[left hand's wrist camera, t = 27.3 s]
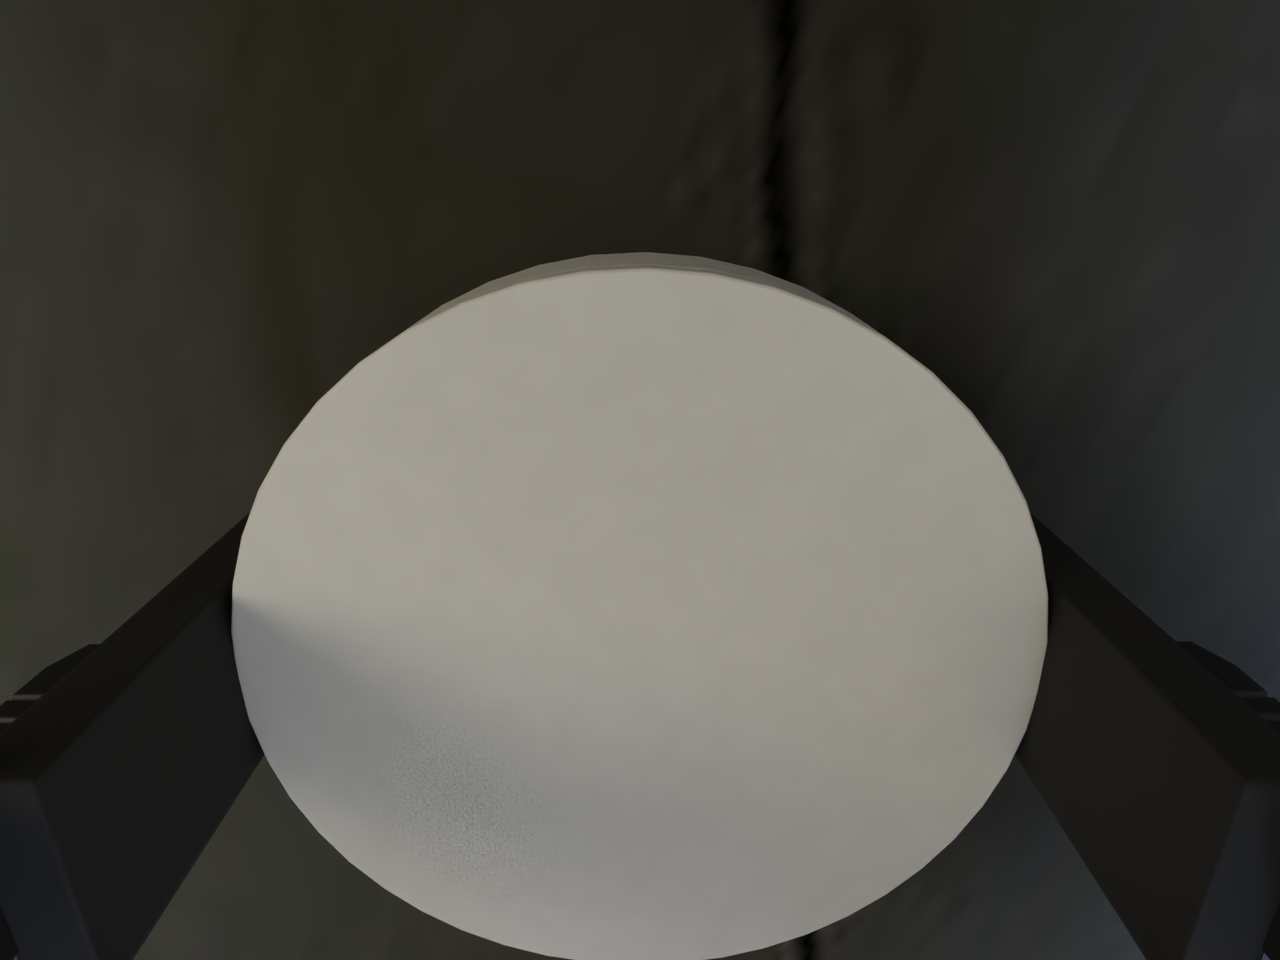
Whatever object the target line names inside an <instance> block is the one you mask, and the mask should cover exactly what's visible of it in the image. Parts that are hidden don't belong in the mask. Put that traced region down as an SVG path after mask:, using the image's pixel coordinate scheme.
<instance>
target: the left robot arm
mask: <svg viewBox="0 0 1280 960" xmlns="http://www.w3.org/2000/svg"><path fill="white" fill-rule="evenodd" d="M249 515H250V513H249V514H248V515H247V516H245V517H244V518H243V519H242V520H241V521H240V522H239V523H237V524H236V525H235V526H234V527H233V528H232V529H231V530H230V531H228V532H227V533H226V534H225V535H224V536H223V537H222V538H220V539H219V540H218V541H217V542H216V543H215V544H214V545H213V546H211V547H210V548H209V549H208V550H207V551H206V552H205V553H203V554H202V555H201V556H200V557H199V558H198V559H197V560H196V561H194V562H193V563H192V564H191V565H190V566H189V567H188V568H186V569H185V570H184V571H183V572H182V573H181V574H180V575H178V576H177V577H176V578H175V579H174V580H173V581H172V582H171V583H169V584H168V585H167V586H166V587H165V588H164V589H163V590H161V591H160V592H159V593H158V594H157V595H156V596H155V597H154V598H152V599H151V600H150V601H149V602H148V603H147V604H146V605H144V606H143V607H142V608H141V609H140V610H139V611H138V612H137V613H135V614H134V615H133V616H132V617H131V618H130V619H129V620H127V621H126V622H125V623H124V624H123V625H122V626H121V627H120V628H118V629H117V630H116V631H115V632H114V633H113V634H112V635H110V636H109V637H108V638H107V639H106V640H105V641H104V642H102V643H101V644H89V645H87V646H85V647H84V648H82V649H80V650H78V651H76V652H74V653H72V654H70V655H69V656H67V657H65V658H63V659H61V660H59V661H57V662H56V663H54V664H52V665H50V666H48V667H46V668H45V669H44V670H42V671H41V672H40V673H39V674H38V675H36V676H35V677H34V678H33V679H32V680H31V681H29V682H28V683H27V684H26V685H25V686H23V687H22V688H21V689H20V690H19V691H17V692H16V693H15V694H14V695H13V700H12V701H6V702H4V703H3V704H2V705H1V706H0V960H13V959H14V958H15V956H17V958H18V960H133V959H134V957H135V956H136V954H137V952H138V951H139V949H140V948H141V946H142V945H143V943H144V941H145V940H146V938H147V937H148V935H149V934H150V932H151V931H152V929H153V927H154V926H155V924H156V923H157V921H158V920H159V918H160V917H161V915H162V913H163V912H164V910H165V909H166V907H167V906H168V904H169V902H170V901H171V899H172V898H173V896H174V895H175V893H176V892H177V890H178V888H179V887H180V885H181V884H182V882H183V881H184V879H185V878H186V876H187V874H188V873H189V871H190V870H191V868H192V867H193V865H194V863H195V862H196V860H197V859H198V857H199V856H200V854H201V853H202V851H203V849H204V848H205V846H206V845H207V843H208V842H209V840H210V838H211V837H212V835H213V834H214V832H215V831H216V829H217V828H218V826H219V824H220V823H221V821H222V820H223V818H224V817H225V815H226V814H227V812H228V810H229V809H230V807H231V806H232V804H233V803H234V801H235V799H236V798H237V796H238V795H239V793H240V792H241V790H242V789H243V787H244V785H245V784H246V782H247V781H248V779H249V778H250V776H251V775H252V773H253V771H254V770H255V768H256V767H257V765H258V764H259V762H260V760H261V759H262V757H263V756H264V752H263V750H262V747H261V745H260V743H259V741H258V738H257V736H256V734H255V732H254V729H253V727H252V725H251V723H250V720H249V717H248V714H247V710H246V706H245V702H244V698H243V693H242V689H241V685H240V681H239V677H238V672H237V667H236V662H235V657H234V649H233V641H232V633H231V623H232V589H233V580H234V574H235V569H236V564H237V559H238V553H239V548H240V543H241V538H242V534H243V531H244V529H245V526H246V523H247V520H248V518H249ZM1030 515H1031V518H1032V521H1033V524H1034V527H1035V531H1036V534H1037V537H1038V540H1039V543H1040V546H1041V551H1042V558H1043V565H1044V571H1045V578H1046V585H1047V592H1048V643H1047V648H1046V653H1045V658H1044V662H1043V667H1042V672H1041V677H1040V682H1039V686H1038V691H1037V695H1036V699H1035V703H1034V707H1033V711H1032V715H1031V718H1030V721H1029V724H1028V727H1027V730H1026V732H1025V734H1024V736H1023V738H1022V740H1021V742H1020V744H1019V746H1018V748H1017V750H1016V753H1015V755H1016V757H1017V758H1018V760H1019V761H1020V763H1021V764H1022V766H1023V768H1024V769H1025V771H1026V772H1027V774H1028V775H1029V777H1030V778H1031V780H1032V782H1033V783H1034V785H1035V786H1036V788H1037V789H1038V791H1039V792H1040V794H1041V796H1042V797H1043V799H1044V800H1045V802H1046V803H1047V805H1048V807H1049V808H1050V810H1051V811H1052V813H1053V814H1054V816H1055V817H1056V819H1057V821H1058V822H1059V824H1060V825H1061V827H1062V828H1063V830H1064V832H1065V833H1066V835H1067V836H1068V838H1069V839H1070V841H1071V842H1072V844H1073V846H1074V847H1075V849H1076V850H1077V852H1078V853H1079V855H1080V856H1081V858H1082V860H1083V861H1084V863H1085V864H1086V866H1087V867H1088V869H1089V871H1090V872H1091V874H1092V875H1093V877H1094V878H1095V880H1096V881H1097V883H1098V885H1099V886H1100V888H1101V889H1102V891H1103V892H1104V894H1105V895H1106V897H1107V899H1108V900H1109V902H1110V903H1111V905H1112V906H1113V908H1114V910H1115V911H1116V913H1117V914H1118V916H1119V917H1120V919H1121V920H1122V922H1123V924H1124V925H1125V927H1126V928H1127V930H1128V931H1129V933H1130V935H1131V936H1132V938H1133V939H1134V941H1135V942H1136V944H1137V945H1138V947H1139V949H1140V950H1141V952H1142V953H1143V955H1144V956H1145V958H1146V959H1147V960H1261V959H1262V956H1263V954H1264V953H1265V954H1266V955H1267V956H1268V958H1269V959H1270V960H1280V702H1278V701H1277V700H1276V699H1275V698H1268V696H1267V691H1265V690H1264V689H1263V688H1262V687H1261V686H1259V685H1258V684H1257V683H1256V682H1255V681H1253V680H1252V679H1251V678H1250V677H1249V676H1247V675H1246V674H1245V673H1244V672H1243V671H1241V670H1240V669H1239V668H1238V667H1237V666H1235V665H1234V664H1232V663H1230V662H1228V661H1226V660H1224V659H1223V658H1221V657H1219V656H1217V655H1215V654H1213V653H1211V652H1209V651H1208V650H1206V649H1204V648H1202V647H1200V646H1198V645H1196V644H1194V643H1192V642H1176V641H1175V640H1174V639H1172V638H1171V637H1170V636H1169V635H1168V634H1167V633H1166V632H1164V631H1163V630H1162V629H1161V628H1160V627H1159V626H1158V625H1157V624H1155V623H1154V622H1153V621H1152V620H1151V619H1150V618H1149V617H1147V616H1146V615H1145V614H1144V613H1143V612H1142V611H1141V610H1139V609H1138V608H1137V607H1136V606H1135V605H1134V604H1133V603H1132V602H1130V601H1129V600H1128V599H1127V598H1126V597H1125V596H1124V595H1122V594H1121V593H1120V592H1119V591H1118V590H1117V589H1116V588H1115V587H1113V586H1112V585H1111V584H1110V583H1109V582H1108V581H1107V580H1105V579H1104V578H1103V577H1102V576H1101V575H1100V574H1099V573H1098V572H1096V571H1095V570H1094V569H1093V568H1092V567H1091V566H1090V565H1088V564H1087V563H1086V562H1085V561H1084V560H1083V559H1082V558H1081V557H1079V556H1078V555H1077V554H1076V553H1075V552H1074V551H1073V550H1071V549H1070V548H1069V547H1068V546H1067V545H1066V544H1065V543H1064V542H1062V541H1061V540H1060V539H1059V538H1058V537H1057V536H1056V535H1054V534H1053V533H1052V532H1051V531H1050V530H1049V529H1048V528H1047V527H1045V526H1044V525H1043V524H1042V523H1041V522H1040V521H1039V520H1037V519H1036V518H1035V517H1034V516H1033V515H1032V514H1031V513H1030Z"/></svg>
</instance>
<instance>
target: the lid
mask: <svg viewBox="0 0 1280 960" xmlns="http://www.w3.org/2000/svg"><path fill="white" fill-rule="evenodd" d="M231 633H232V641H233V649H234V657H235V662H236V667H237V672H238V677H239V681H240V685H241V689H242V693H243V698H244V702H245V706H246V710H247V714H248V717H249V720H250V723H251V725H252V727H253V729H254V732H255V734H256V736H257V738H258V741H259V743H260V745H261V747H262V750H263V752H264V754H265V756H266V759H267V761H268V762H269V764H270V766H271V767H272V769H273V770H274V772H275V774H276V775H277V777H278V778H279V780H280V782H281V783H282V785H283V786H284V788H285V790H286V791H287V793H288V795H289V796H290V798H291V799H292V800H293V801H294V803H295V804H296V805H297V806H298V808H299V809H300V810H301V811H302V812H303V814H304V815H305V816H306V817H307V819H308V820H309V821H310V822H311V824H312V825H313V826H314V827H315V828H316V830H317V831H318V832H319V833H320V834H321V835H322V836H323V837H324V838H325V839H326V840H327V841H328V842H329V843H330V844H331V845H333V846H334V847H335V848H336V849H337V850H338V851H339V852H340V853H341V854H342V855H343V856H344V857H345V858H346V859H347V860H348V861H349V862H350V863H352V864H353V865H354V866H356V867H357V868H358V869H359V870H361V871H362V872H363V873H365V874H366V875H367V876H369V877H370V878H371V879H373V880H374V881H375V882H376V883H378V884H379V885H380V886H382V887H383V888H384V889H386V890H388V891H389V892H391V893H393V894H394V895H396V896H398V897H399V898H401V899H403V900H404V901H406V902H407V903H409V904H411V905H412V906H414V907H416V908H417V909H419V910H421V911H422V912H425V913H427V914H429V915H431V916H433V917H435V918H437V919H439V920H442V921H444V922H446V923H448V924H450V925H452V926H454V927H456V928H459V929H461V930H463V931H466V932H469V933H472V934H474V935H477V936H480V937H483V938H486V939H488V940H491V941H494V942H497V943H500V944H503V945H506V946H510V947H514V948H518V949H522V950H526V951H530V952H534V953H538V954H542V955H546V956H553V957H560V958H566V959H573V960H707V959H714V958H722V957H727V956H731V955H736V954H740V953H745V952H749V951H753V950H758V949H762V948H766V947H769V946H773V945H776V944H779V943H782V942H785V941H788V940H791V939H794V938H797V937H800V936H803V935H806V934H809V933H811V932H813V931H816V930H818V929H820V928H822V927H825V926H827V925H829V924H831V923H834V922H836V921H838V920H840V919H843V918H845V917H847V916H849V915H851V914H853V913H854V912H856V911H858V910H860V909H861V908H863V907H865V906H867V905H868V904H870V903H872V902H874V901H875V900H877V899H879V898H881V897H882V896H884V895H886V894H887V893H889V892H890V891H892V890H893V889H894V888H896V887H897V886H898V885H900V884H901V883H903V882H904V881H905V880H907V879H908V878H910V877H911V876H912V875H914V874H915V873H916V872H918V871H919V870H921V869H922V868H923V867H924V866H925V865H926V864H927V863H929V862H930V861H931V860H932V859H933V858H934V857H935V856H936V855H937V854H938V853H940V852H941V851H942V850H943V849H944V848H945V847H946V846H947V845H948V844H949V843H951V842H952V841H953V840H954V839H955V838H956V837H957V835H958V834H959V833H960V832H961V831H962V830H963V828H964V827H965V826H966V825H967V824H968V823H969V822H970V820H971V819H972V818H973V817H974V816H975V815H976V813H977V812H978V811H979V810H980V809H981V808H982V806H983V805H984V804H985V802H986V801H987V799H988V798H989V796H990V795H991V793H992V792H993V790H994V789H995V787H996V786H997V784H998V783H999V781H1000V780H1001V778H1002V777H1003V775H1004V774H1005V772H1006V771H1007V769H1008V767H1009V765H1010V763H1011V761H1012V759H1013V757H1014V755H1015V753H1016V750H1017V748H1018V746H1019V744H1020V742H1021V740H1022V738H1023V736H1024V734H1025V732H1026V730H1027V727H1028V724H1029V721H1030V718H1031V715H1032V711H1033V707H1034V703H1035V699H1036V695H1037V691H1038V686H1039V682H1040V677H1041V672H1042V667H1043V662H1044V658H1045V653H1046V648H1047V643H1048V592H1047V585H1046V578H1045V571H1044V565H1043V558H1042V551H1041V546H1040V543H1039V540H1038V537H1037V534H1036V531H1035V527H1034V524H1033V521H1032V518H1031V515H1030V512H1029V509H1028V505H1027V502H1026V500H1025V498H1024V496H1023V494H1022V492H1021V490H1020V488H1019V486H1018V484H1017V482H1016V480H1015V478H1014V476H1013V474H1012V472H1011V470H1010V468H1009V466H1008V464H1007V462H1006V460H1005V458H1004V456H1003V455H1002V453H1001V452H1000V450H999V449H998V448H997V446H996V445H995V443H994V442H993V441H992V439H991V438H990V436H989V435H988V434H987V432H986V431H985V430H984V428H983V427H982V425H981V424H980V423H979V421H978V420H977V418H976V417H975V416H974V414H973V413H972V412H971V411H970V410H969V409H968V408H967V407H966V406H965V404H964V403H963V402H962V401H961V400H960V399H959V398H958V397H957V396H956V395H955V394H954V393H953V392H952V391H951V390H950V389H949V388H948V387H947V386H946V385H945V384H944V383H943V382H942V381H941V380H940V379H939V378H938V377H937V376H936V375H935V374H934V373H933V372H932V371H930V370H929V369H928V368H926V367H925V366H924V365H922V364H921V363H920V362H918V361H917V360H916V359H914V358H913V357H912V356H910V355H909V354H908V353H906V352H905V351H904V350H902V349H901V348H900V347H898V346H897V345H896V344H894V343H893V342H892V341H890V340H889V339H888V338H886V337H885V336H883V335H882V334H881V333H879V332H878V331H876V330H875V329H873V328H872V327H870V326H869V325H867V324H866V323H864V322H863V321H861V320H860V319H859V318H857V317H856V316H854V315H853V314H851V313H850V312H848V311H846V310H844V309H843V308H841V307H839V306H837V305H835V304H833V303H832V302H830V301H828V300H826V299H824V298H822V297H821V296H819V295H817V294H815V293H813V292H811V291H810V290H808V289H806V288H804V287H802V286H799V285H796V284H794V283H791V282H788V281H786V280H783V279H780V278H778V277H775V276H772V275H770V274H767V273H764V272H762V271H759V270H756V269H753V268H749V267H744V266H740V265H736V264H731V263H727V262H722V261H718V260H713V259H709V258H704V257H698V256H686V255H674V254H663V253H651V252H640V253H620V254H601V255H589V256H584V257H579V258H573V259H568V260H563V261H557V262H552V263H547V264H542V265H537V266H535V267H532V268H529V269H526V270H523V271H520V272H517V273H514V274H511V275H508V276H505V277H502V278H499V279H496V280H493V281H490V282H487V283H485V284H483V285H481V286H479V287H477V288H475V289H473V290H471V291H469V292H467V293H465V294H463V295H461V296H459V297H457V298H455V299H453V300H451V301H449V302H447V303H445V304H443V305H441V306H440V307H439V308H437V309H436V310H434V311H433V312H431V313H430V314H428V315H427V316H426V317H424V318H423V319H421V320H420V321H418V322H417V323H415V324H414V325H412V326H411V327H410V328H408V329H407V330H405V331H404V332H402V333H401V334H399V335H398V336H397V337H395V338H394V339H392V340H391V341H389V342H388V343H386V344H385V345H384V346H382V347H381V348H379V349H378V350H376V351H375V352H373V353H372V354H371V355H369V356H368V357H366V358H365V359H363V360H362V361H360V362H359V363H358V364H357V365H356V366H355V367H354V368H352V369H351V370H350V371H349V372H348V373H347V374H346V375H345V376H344V377H343V378H342V379H341V380H340V381H339V382H338V383H337V384H335V385H334V386H333V387H332V388H331V389H330V390H329V391H328V392H327V393H326V394H325V395H324V396H323V397H322V398H321V399H319V400H318V401H317V403H316V404H315V405H314V406H313V408H312V409H311V410H310V412H309V413H308V414H307V415H306V417H305V418H304V419H303V420H302V422H301V423H300V424H299V426H298V427H297V428H296V429H295V431H294V432H293V433H292V435H291V436H290V437H289V438H288V440H287V441H286V442H285V443H284V445H283V447H282V449H281V450H280V452H279V454H278V456H277V458H276V459H275V461H274V463H273V465H272V467H271V468H270V470H269V472H268V474H267V476H266V477H265V479H264V481H263V483H262V485H261V486H260V488H259V490H258V493H257V496H256V498H255V501H254V504H253V507H252V509H251V512H250V515H249V518H248V520H247V523H246V526H245V529H244V531H243V534H242V538H241V543H240V548H239V553H238V559H237V564H236V569H235V574H234V580H233V589H232V623H231Z"/></svg>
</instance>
